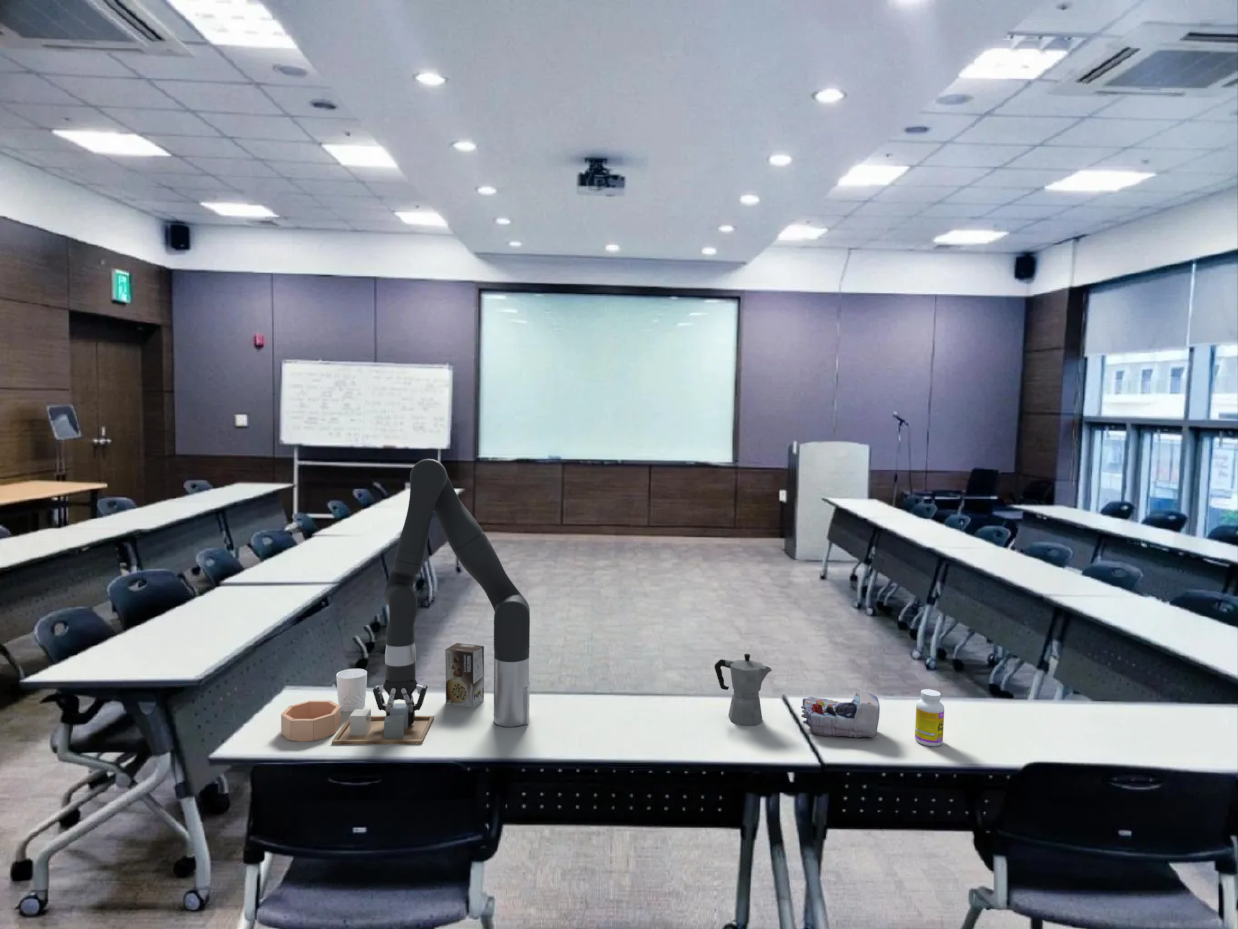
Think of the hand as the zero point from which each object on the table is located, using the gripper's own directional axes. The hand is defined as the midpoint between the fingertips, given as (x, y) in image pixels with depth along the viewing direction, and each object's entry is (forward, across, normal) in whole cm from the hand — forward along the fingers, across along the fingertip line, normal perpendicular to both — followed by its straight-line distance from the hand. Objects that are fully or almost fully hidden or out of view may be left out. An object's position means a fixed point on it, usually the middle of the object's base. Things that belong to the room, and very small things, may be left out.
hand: (400, 724), depth 198 cm
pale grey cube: (0, +9, +4) cm, 10 cm away
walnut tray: (+1, +3, +4) cm, 5 cm away
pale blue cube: (0, 0, 0) cm, 0 cm away
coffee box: (+1, -14, -16) cm, 22 cm away
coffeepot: (+1, -90, -6) cm, 90 cm away
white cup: (+1, +16, -12) cm, 20 cm away
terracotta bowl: (+1, +22, +3) cm, 22 cm away
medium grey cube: (0, 0, +6) cm, 7 cm away
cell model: (+1, -114, +2) cm, 114 cm away
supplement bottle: (+1, -135, +10) cm, 135 cm away
